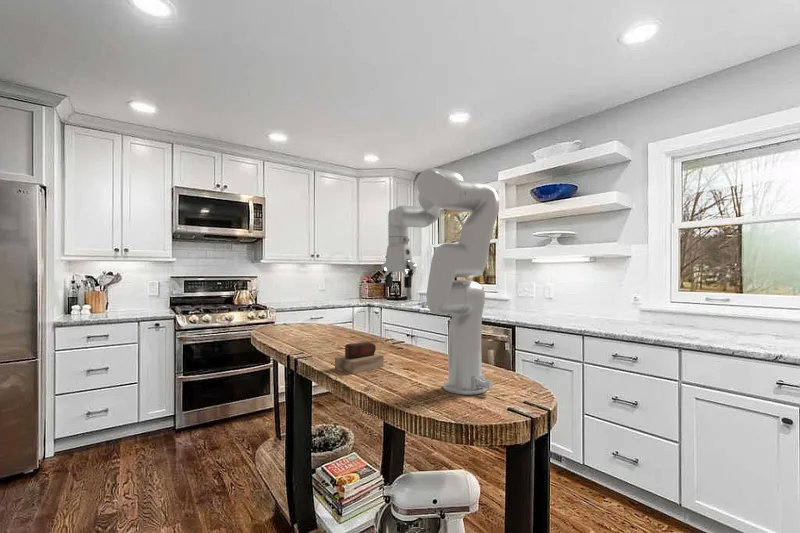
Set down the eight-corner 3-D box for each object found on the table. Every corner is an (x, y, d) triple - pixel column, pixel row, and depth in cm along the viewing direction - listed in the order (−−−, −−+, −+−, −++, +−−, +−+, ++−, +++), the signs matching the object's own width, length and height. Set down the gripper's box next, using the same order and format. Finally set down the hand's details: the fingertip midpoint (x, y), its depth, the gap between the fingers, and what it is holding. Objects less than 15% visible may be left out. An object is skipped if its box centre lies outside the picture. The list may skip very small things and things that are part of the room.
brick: (350, 359, 139) (350, 345, 139) (344, 357, 142) (344, 344, 142) (375, 355, 146) (375, 342, 146) (369, 353, 149) (369, 341, 149)
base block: (383, 366, 145) (383, 355, 145) (353, 374, 135) (353, 362, 135) (364, 362, 152) (364, 351, 152) (334, 369, 142) (334, 357, 142)
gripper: (422, 241, 150) (422, 287, 150) (388, 243, 162) (388, 286, 162) (408, 240, 145) (408, 288, 144) (375, 242, 156) (375, 287, 156)
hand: (398, 287), depth 153 cm, fingers open, 9 cm apart
